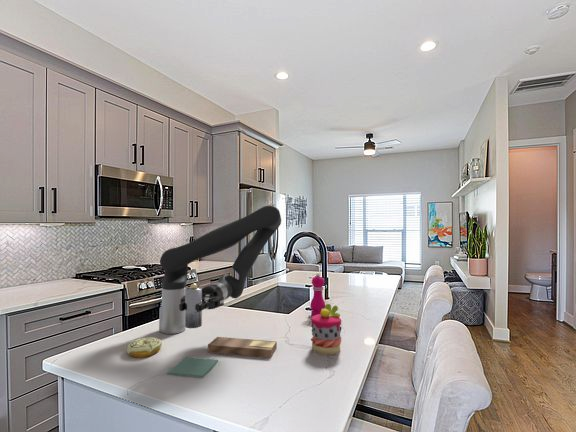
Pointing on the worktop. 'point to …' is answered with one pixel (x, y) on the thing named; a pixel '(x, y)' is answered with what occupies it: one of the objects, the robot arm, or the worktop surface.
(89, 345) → the worktop surface
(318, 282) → the pepper mill
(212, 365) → the felt mat
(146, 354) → the decorated donut
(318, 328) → the cake
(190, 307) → the cylinder with brass knob
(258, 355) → the plane body
